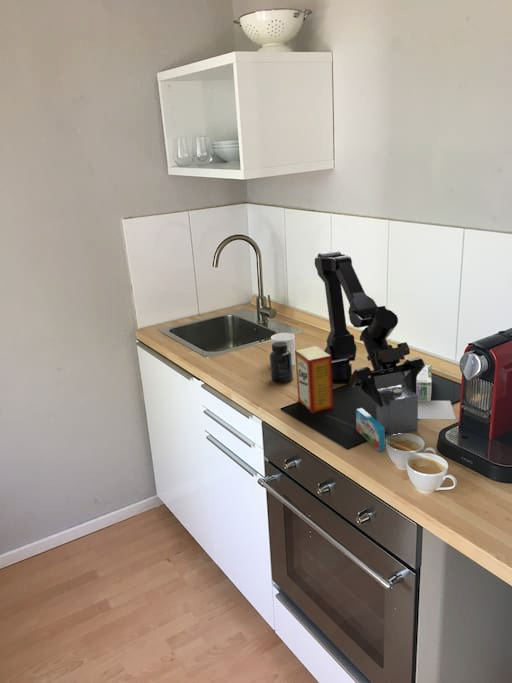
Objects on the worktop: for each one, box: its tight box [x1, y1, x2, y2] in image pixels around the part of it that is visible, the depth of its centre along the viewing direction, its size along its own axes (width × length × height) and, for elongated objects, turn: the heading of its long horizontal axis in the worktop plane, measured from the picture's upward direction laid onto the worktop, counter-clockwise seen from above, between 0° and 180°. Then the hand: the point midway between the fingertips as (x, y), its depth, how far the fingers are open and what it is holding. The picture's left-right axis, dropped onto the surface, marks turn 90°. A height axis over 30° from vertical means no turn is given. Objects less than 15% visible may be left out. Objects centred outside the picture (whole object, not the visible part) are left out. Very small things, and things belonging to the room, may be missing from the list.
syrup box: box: [416, 364, 433, 401], centre depth 163 cm, size 6×6×14 cm
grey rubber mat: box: [418, 400, 457, 420], centre depth 152 cm, size 11×11×1 cm
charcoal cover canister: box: [376, 384, 419, 437], centre depth 143 cm, size 7×7×11 cm
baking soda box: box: [295, 345, 334, 413], centre depth 160 cm, size 10×6×16 cm
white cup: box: [270, 332, 296, 367], centre depth 192 cm, size 8×8×10 cm
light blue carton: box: [355, 407, 386, 452], centre depth 140 cm, size 12×2×6 cm, turn 17°
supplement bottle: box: [269, 342, 294, 384], centre depth 179 cm, size 7×7×12 cm
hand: (398, 403), depth 142 cm, fingers open, 9 cm apart
